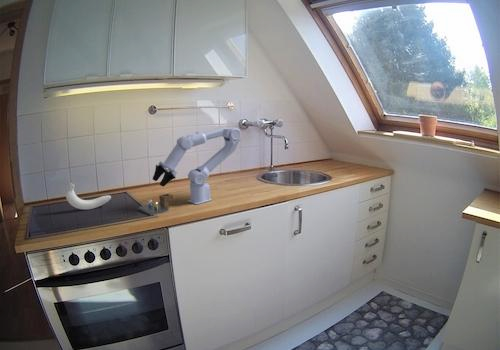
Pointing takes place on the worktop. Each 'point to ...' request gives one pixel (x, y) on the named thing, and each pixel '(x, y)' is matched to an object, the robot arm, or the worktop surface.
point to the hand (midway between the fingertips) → (157, 183)
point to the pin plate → (153, 208)
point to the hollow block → (166, 200)
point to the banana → (85, 203)
